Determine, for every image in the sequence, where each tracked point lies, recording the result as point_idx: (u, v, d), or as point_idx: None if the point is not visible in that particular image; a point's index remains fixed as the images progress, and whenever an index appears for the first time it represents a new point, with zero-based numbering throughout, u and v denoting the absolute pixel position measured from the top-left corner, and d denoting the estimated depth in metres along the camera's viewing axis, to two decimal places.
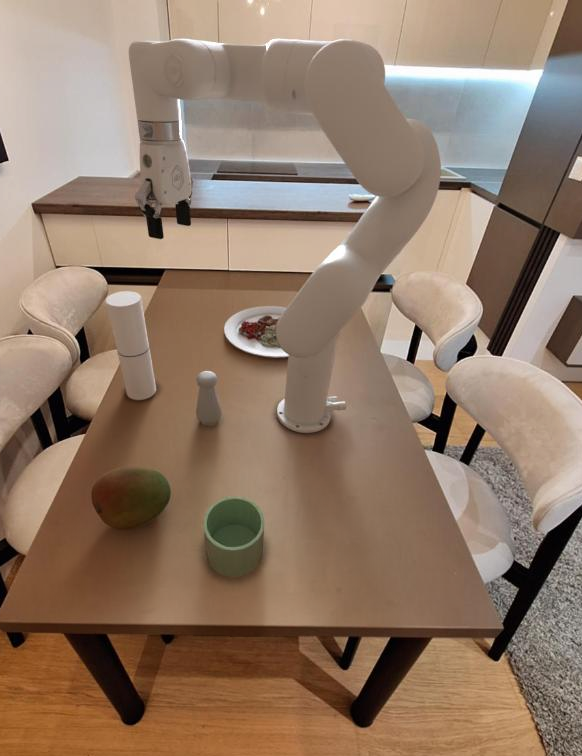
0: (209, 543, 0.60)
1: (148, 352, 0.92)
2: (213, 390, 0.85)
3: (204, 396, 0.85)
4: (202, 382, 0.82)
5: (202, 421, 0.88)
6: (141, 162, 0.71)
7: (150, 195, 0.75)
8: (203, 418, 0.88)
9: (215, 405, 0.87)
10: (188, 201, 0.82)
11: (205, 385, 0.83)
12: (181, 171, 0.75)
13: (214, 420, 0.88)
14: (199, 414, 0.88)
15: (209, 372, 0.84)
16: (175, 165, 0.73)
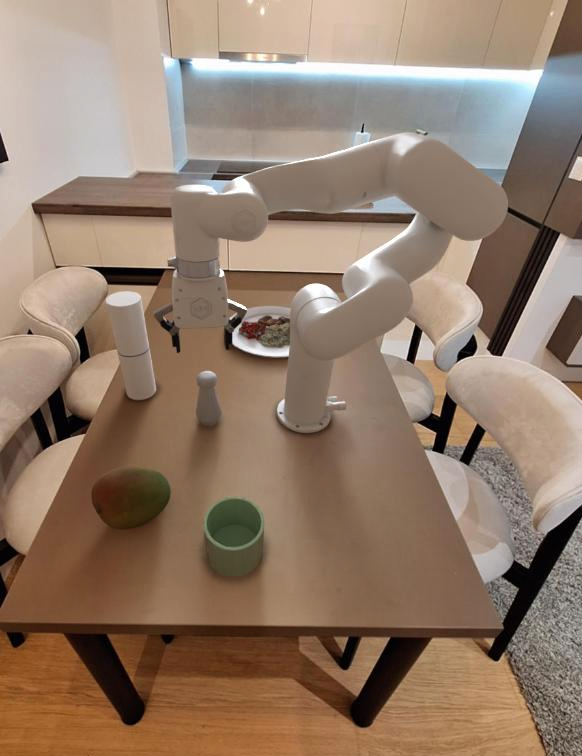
0: (209, 543, 0.60)
1: (148, 352, 0.92)
2: (213, 390, 0.85)
3: (204, 396, 0.85)
4: (202, 382, 0.82)
5: (202, 421, 0.88)
6: None
7: None
8: (203, 418, 0.88)
9: (215, 405, 0.87)
10: (229, 329, 0.77)
11: (205, 385, 0.83)
12: (208, 304, 0.71)
13: (214, 420, 0.88)
14: (199, 414, 0.88)
15: (209, 372, 0.84)
16: (199, 298, 0.70)
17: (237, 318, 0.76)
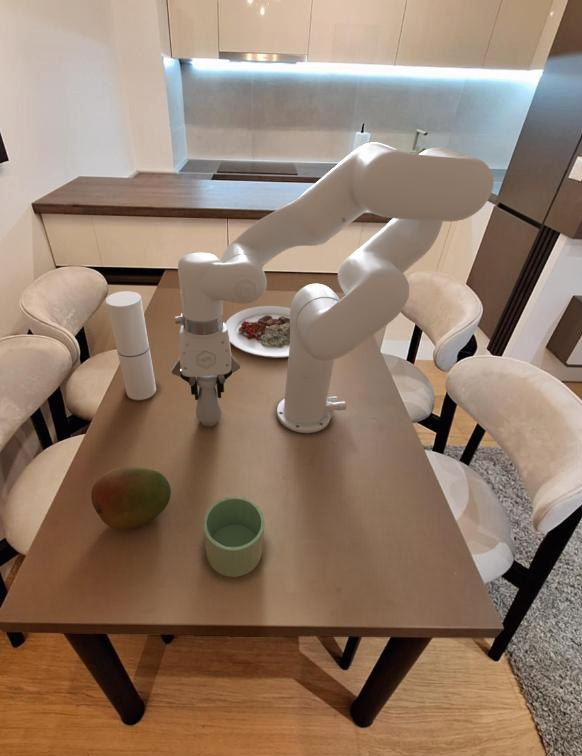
0: (209, 543, 0.60)
1: (148, 352, 0.92)
2: (213, 390, 0.85)
3: (204, 396, 0.85)
4: (202, 382, 0.82)
5: (202, 421, 0.88)
6: None
7: None
8: (203, 418, 0.88)
9: (215, 405, 0.87)
10: (221, 380, 0.83)
11: (205, 385, 0.83)
12: (213, 355, 0.77)
13: (214, 420, 0.88)
14: (199, 414, 0.88)
15: None
16: (204, 350, 0.77)
17: None
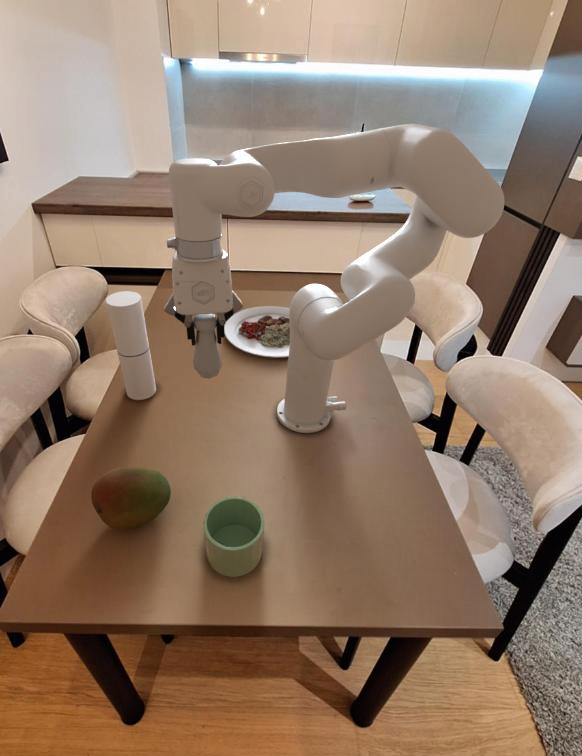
0: (209, 543, 0.60)
1: (148, 352, 0.92)
2: (212, 334, 0.75)
3: (201, 341, 0.75)
4: (199, 323, 0.72)
5: (200, 371, 0.78)
6: None
7: None
8: (201, 368, 0.77)
9: (215, 353, 0.76)
10: (221, 321, 0.73)
11: (203, 326, 0.72)
12: (211, 287, 0.67)
13: (213, 370, 0.78)
14: (196, 363, 0.77)
15: None
16: (201, 281, 0.66)
17: None
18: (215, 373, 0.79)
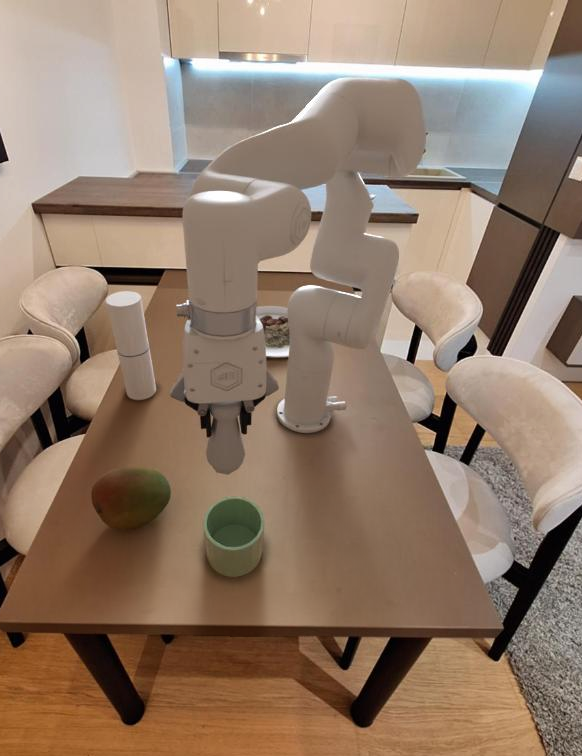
0: (209, 543, 0.60)
1: (148, 352, 0.92)
2: (235, 422, 0.55)
3: (220, 432, 0.55)
4: (218, 411, 0.52)
5: (216, 467, 0.58)
6: None
7: None
8: (218, 464, 0.57)
9: (237, 445, 0.56)
10: (247, 408, 0.53)
11: (224, 415, 0.52)
12: (238, 370, 0.47)
13: (234, 467, 0.58)
14: (211, 457, 0.57)
15: None
16: (224, 362, 0.46)
17: None
18: (235, 468, 0.59)
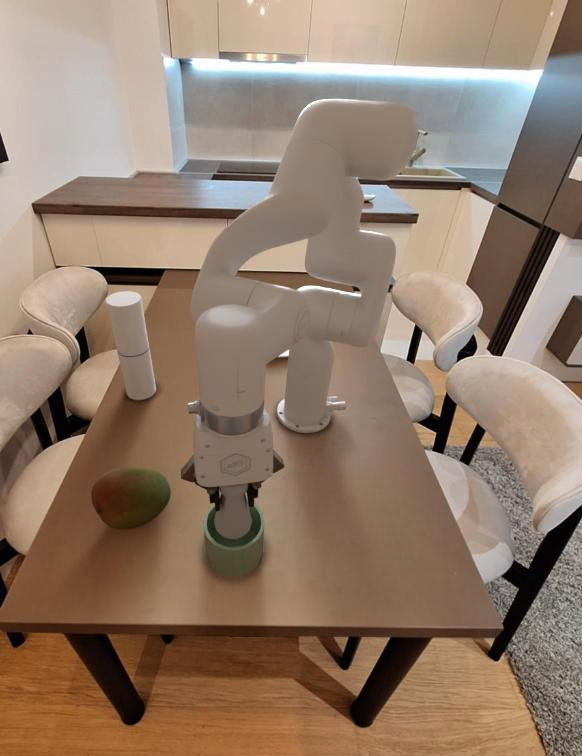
0: (209, 543, 0.60)
1: (148, 352, 0.92)
2: (242, 497, 0.57)
3: (228, 506, 0.57)
4: (227, 490, 0.54)
5: (224, 537, 0.60)
6: None
7: None
8: (226, 534, 0.59)
9: (244, 516, 0.59)
10: (255, 485, 0.55)
11: (232, 494, 0.54)
12: (246, 459, 0.49)
13: (242, 535, 0.60)
14: (220, 527, 0.60)
15: None
16: (233, 453, 0.48)
17: None
18: None
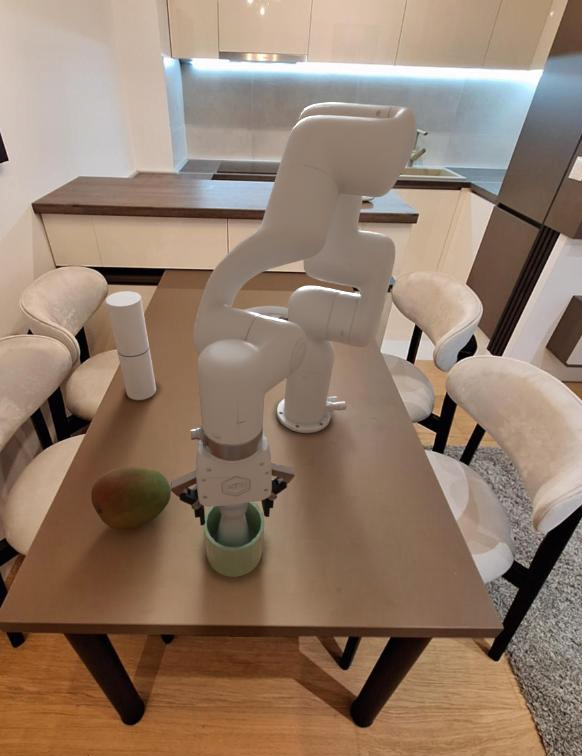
0: (209, 543, 0.60)
1: (148, 352, 0.92)
2: (242, 518, 0.60)
3: (228, 527, 0.60)
4: (227, 513, 0.58)
5: None
6: None
7: None
8: None
9: (244, 535, 0.62)
10: (271, 496, 0.58)
11: (232, 516, 0.58)
12: (246, 481, 0.52)
13: None
14: None
15: None
16: (234, 476, 0.51)
17: (281, 483, 0.57)
18: None
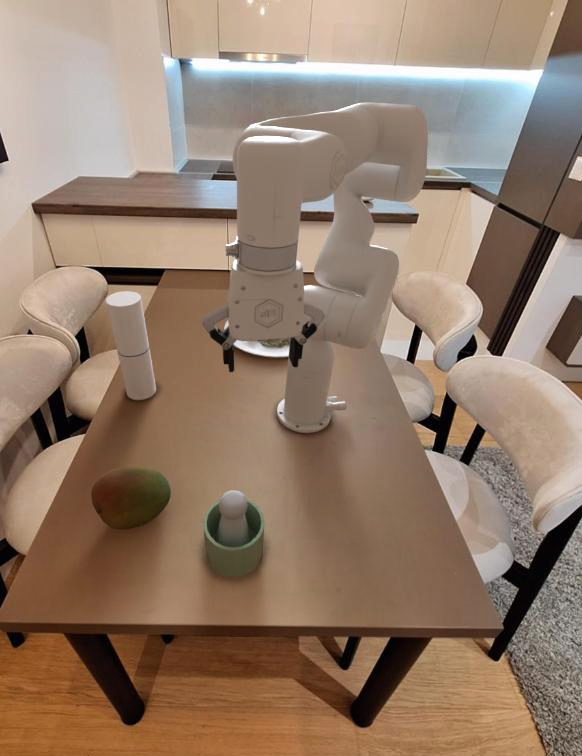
0: (209, 543, 0.60)
1: (148, 352, 0.92)
2: (242, 518, 0.60)
3: (228, 527, 0.60)
4: (227, 513, 0.58)
5: None
6: (229, 281, 0.53)
7: None
8: None
9: (244, 535, 0.62)
10: (300, 340, 0.57)
11: (232, 516, 0.58)
12: (279, 307, 0.52)
13: None
14: None
15: (236, 494, 0.59)
16: (267, 299, 0.51)
17: (311, 325, 0.57)
18: None
